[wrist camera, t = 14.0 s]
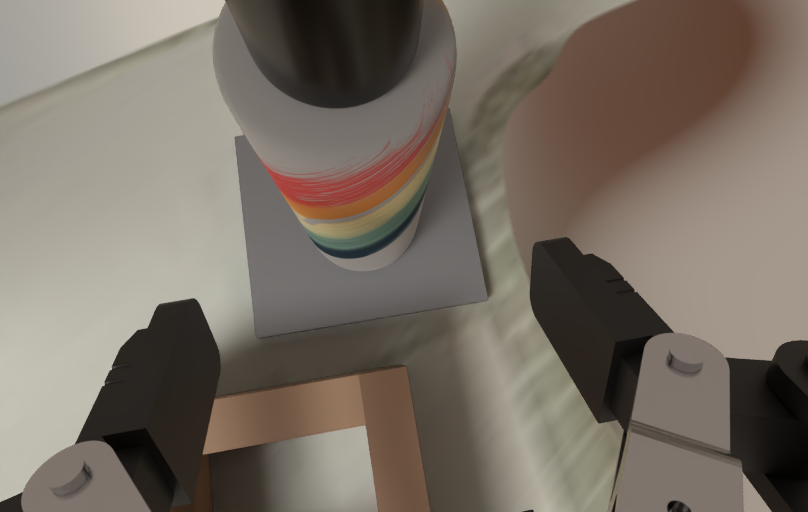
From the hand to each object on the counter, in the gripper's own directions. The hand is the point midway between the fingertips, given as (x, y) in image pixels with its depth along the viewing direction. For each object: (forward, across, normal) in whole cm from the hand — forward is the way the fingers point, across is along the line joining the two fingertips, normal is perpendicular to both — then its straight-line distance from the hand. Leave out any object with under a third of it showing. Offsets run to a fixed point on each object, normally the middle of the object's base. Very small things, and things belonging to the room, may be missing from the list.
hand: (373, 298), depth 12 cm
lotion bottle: (+14, 0, +5) cm, 15 cm away
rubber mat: (+14, 0, +6) cm, 15 cm away
